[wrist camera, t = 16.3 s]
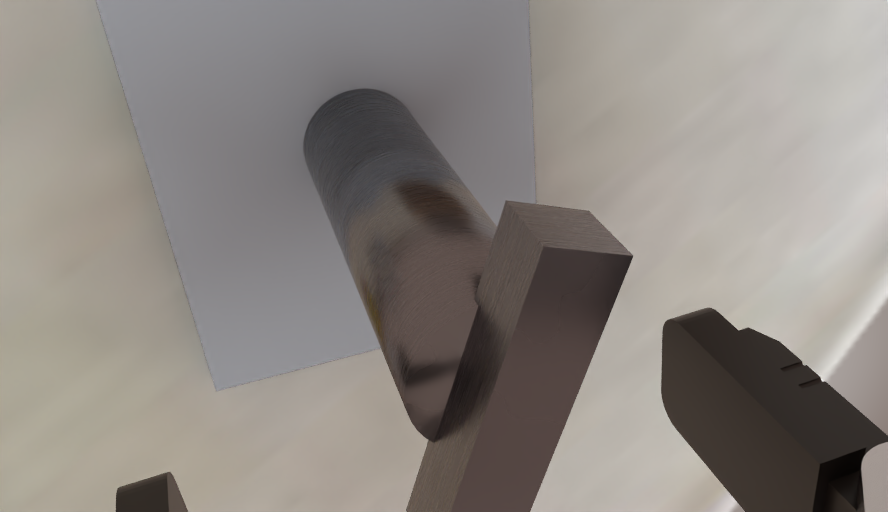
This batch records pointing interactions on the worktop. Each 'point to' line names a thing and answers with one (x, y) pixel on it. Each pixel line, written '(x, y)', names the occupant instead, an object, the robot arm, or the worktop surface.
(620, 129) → the worktop surface
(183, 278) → the mat
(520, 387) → the chuck key
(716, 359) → the robot arm
